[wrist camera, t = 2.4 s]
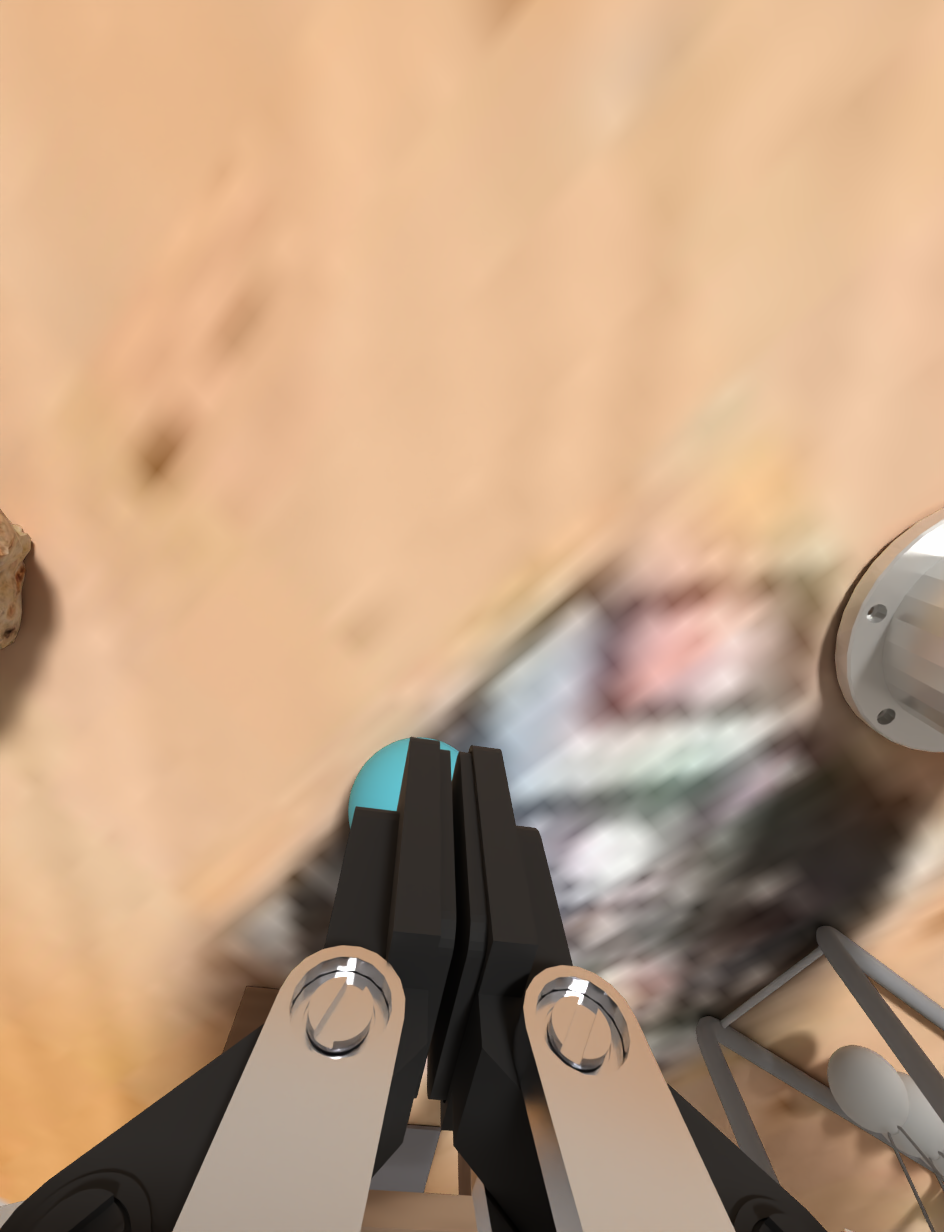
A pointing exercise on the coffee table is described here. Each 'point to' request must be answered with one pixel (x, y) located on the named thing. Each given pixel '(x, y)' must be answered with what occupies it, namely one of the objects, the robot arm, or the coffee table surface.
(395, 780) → the ball
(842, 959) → the newton's cradle
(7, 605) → the rock
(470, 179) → the coffee table surface
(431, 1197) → the bridge
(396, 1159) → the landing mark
